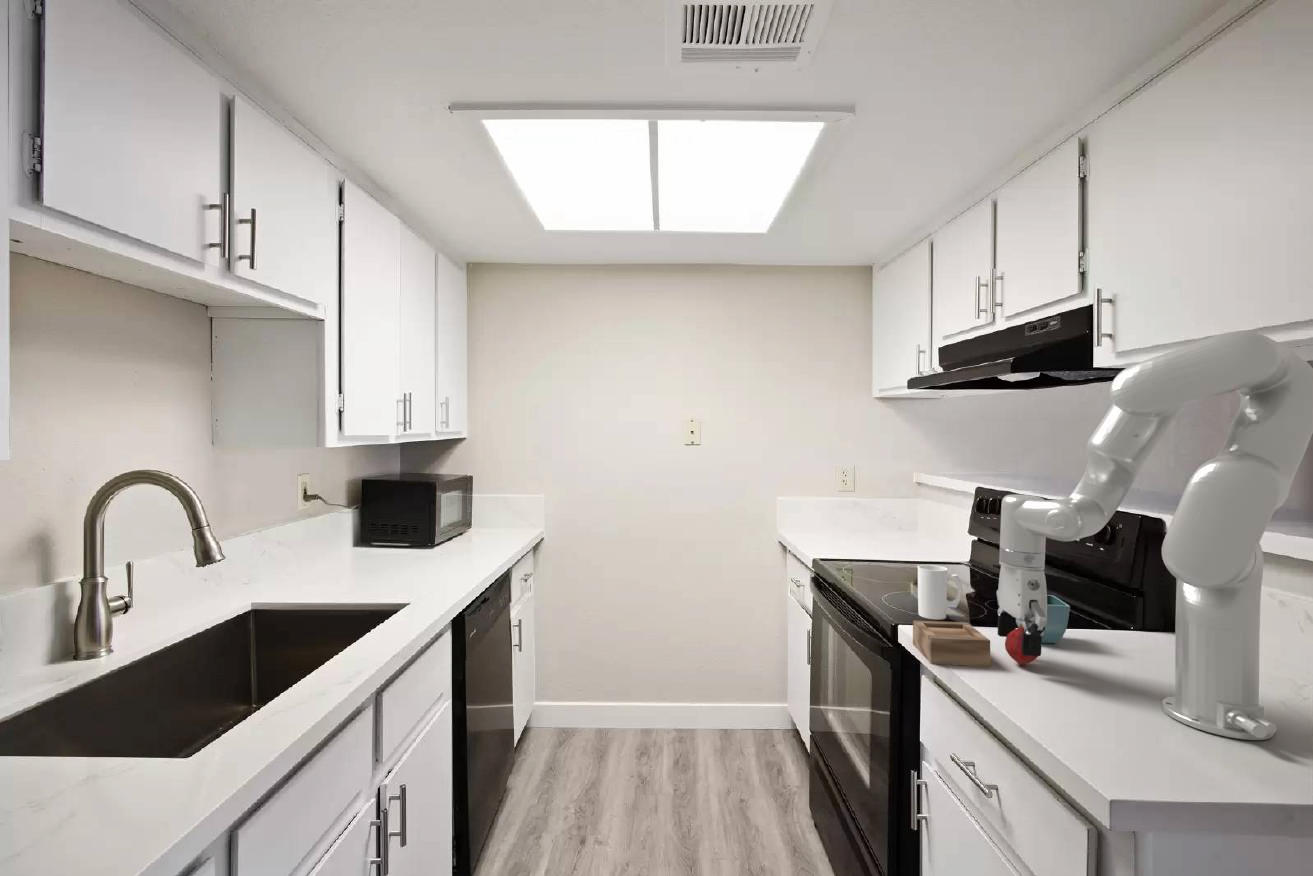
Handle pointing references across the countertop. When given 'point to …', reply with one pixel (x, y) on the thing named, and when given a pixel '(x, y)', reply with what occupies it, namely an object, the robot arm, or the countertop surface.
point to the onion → (1017, 646)
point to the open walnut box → (951, 643)
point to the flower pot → (1054, 620)
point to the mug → (935, 591)
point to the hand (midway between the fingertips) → (1018, 645)
